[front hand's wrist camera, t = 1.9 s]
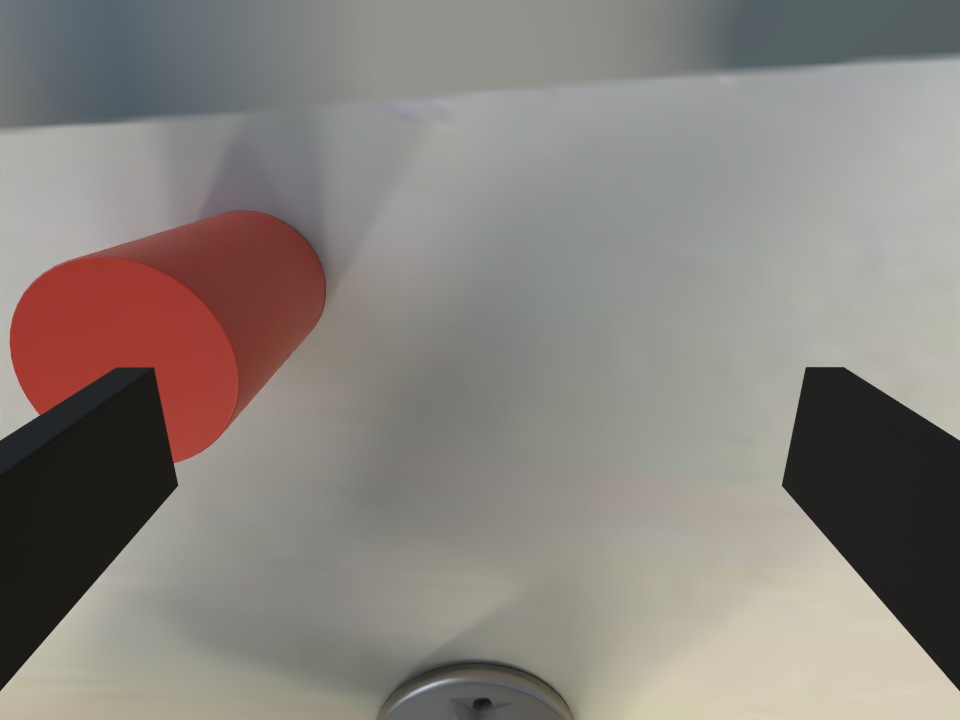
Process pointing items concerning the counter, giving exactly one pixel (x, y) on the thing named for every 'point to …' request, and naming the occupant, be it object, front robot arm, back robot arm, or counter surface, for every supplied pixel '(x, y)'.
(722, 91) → the counter surface
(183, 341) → the cylinder
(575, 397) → the counter surface
